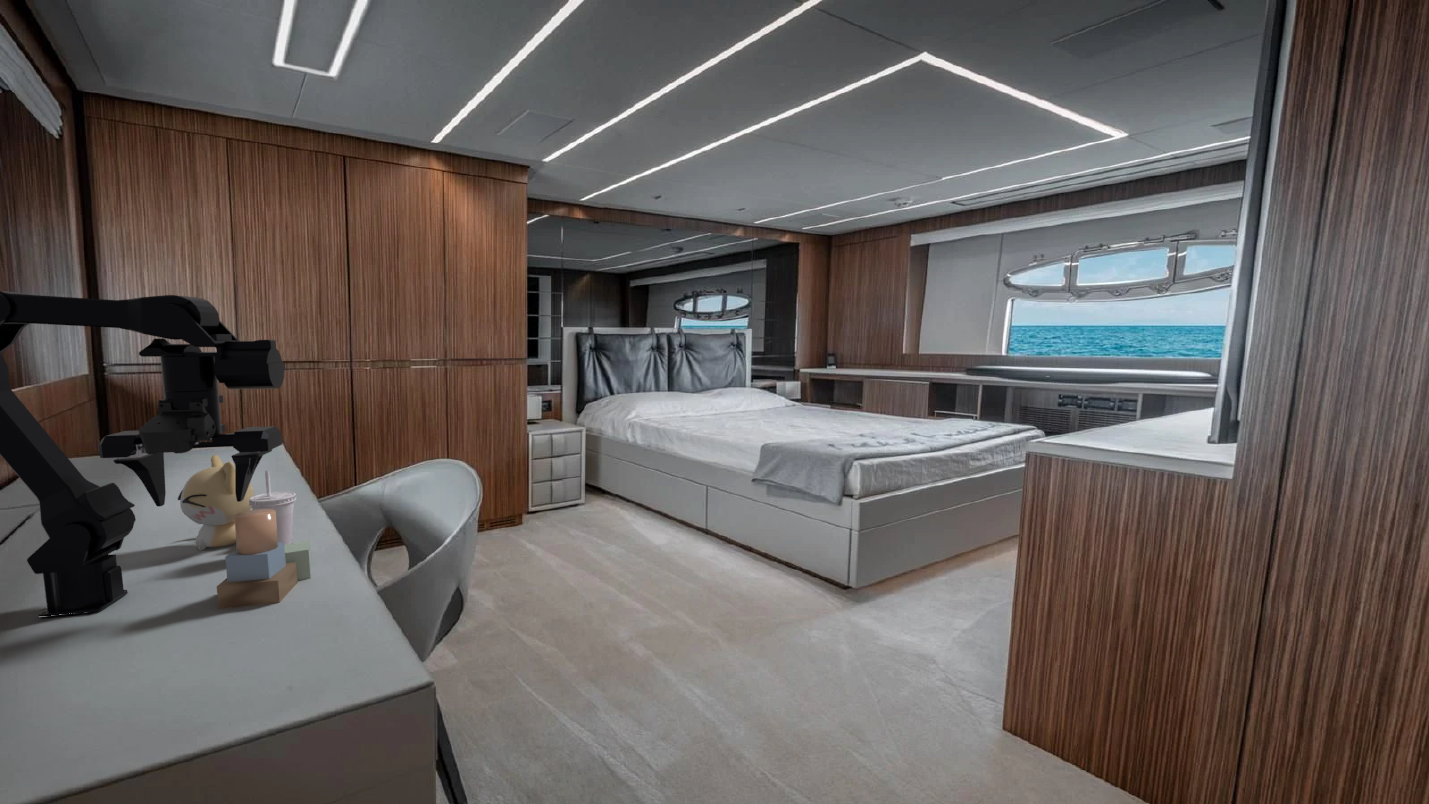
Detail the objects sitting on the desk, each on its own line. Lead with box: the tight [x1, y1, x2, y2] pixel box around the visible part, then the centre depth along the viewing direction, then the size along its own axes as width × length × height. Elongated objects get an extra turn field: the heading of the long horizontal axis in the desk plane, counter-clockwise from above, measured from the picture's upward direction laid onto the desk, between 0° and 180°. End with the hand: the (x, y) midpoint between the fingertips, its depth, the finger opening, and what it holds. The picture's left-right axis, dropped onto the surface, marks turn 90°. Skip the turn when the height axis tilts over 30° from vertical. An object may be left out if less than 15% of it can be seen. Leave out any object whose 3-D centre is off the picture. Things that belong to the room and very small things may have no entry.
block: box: [284, 540, 312, 582], centre depth 94 cm, size 4×4×4 cm
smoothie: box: [249, 470, 297, 545], centre depth 104 cm, size 6×6×14 cm
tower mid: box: [224, 542, 286, 582], centre depth 87 cm, size 5×5×4 cm
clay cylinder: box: [234, 509, 278, 555], centre depth 87 cm, size 5×5×5 cm
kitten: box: [177, 454, 255, 551], centre depth 108 cm, size 15×10×15 cm
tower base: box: [216, 563, 298, 610], centre depth 88 cm, size 7×7×4 cm
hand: (201, 503), depth 87 cm, fingers open, 9 cm apart
